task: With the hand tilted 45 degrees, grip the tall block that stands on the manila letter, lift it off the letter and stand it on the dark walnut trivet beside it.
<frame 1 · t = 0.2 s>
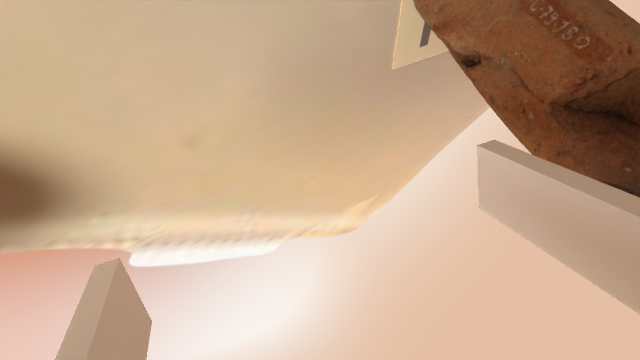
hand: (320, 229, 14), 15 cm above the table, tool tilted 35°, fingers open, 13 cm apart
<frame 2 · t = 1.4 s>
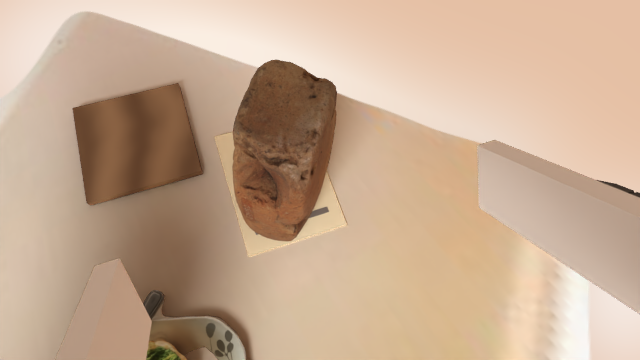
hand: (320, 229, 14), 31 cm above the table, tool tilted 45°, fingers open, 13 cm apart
trivet: (138, 142, 49), on the table
block: (285, 201, 47), resting on letter
letter: (278, 179, 48), on the table
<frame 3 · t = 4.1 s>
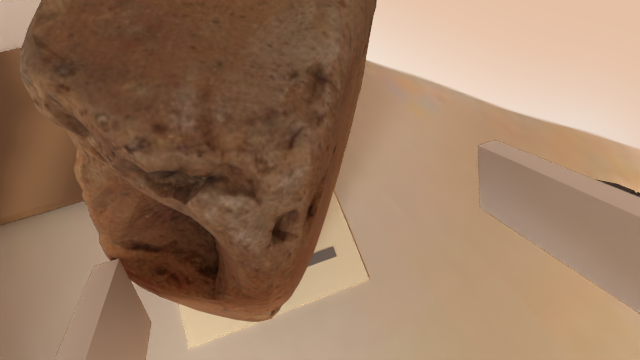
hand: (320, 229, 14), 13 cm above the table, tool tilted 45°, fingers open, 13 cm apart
block: (259, 239, 27), resting on letter, touching gripper
letter: (246, 199, 27), on the table
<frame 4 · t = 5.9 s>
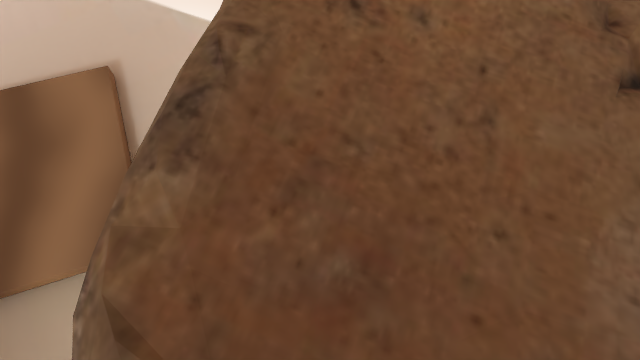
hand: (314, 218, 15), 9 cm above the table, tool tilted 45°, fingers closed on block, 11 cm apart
trivet: (20, 185, 24), on the table
block: (321, 313, 22), resting on letter, touching gripper
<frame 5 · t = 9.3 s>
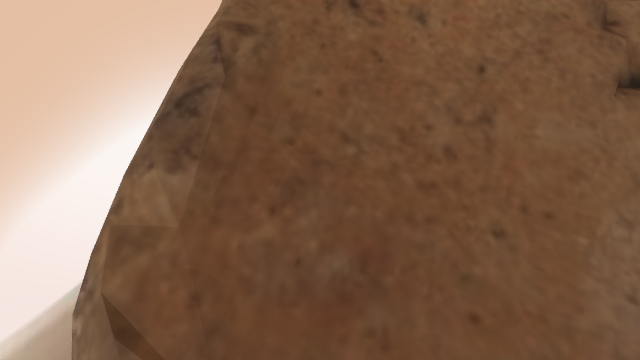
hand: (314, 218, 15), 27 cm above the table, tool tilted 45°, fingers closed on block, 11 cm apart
block: (321, 313, 22), point 18 cm above the table, touching gripper
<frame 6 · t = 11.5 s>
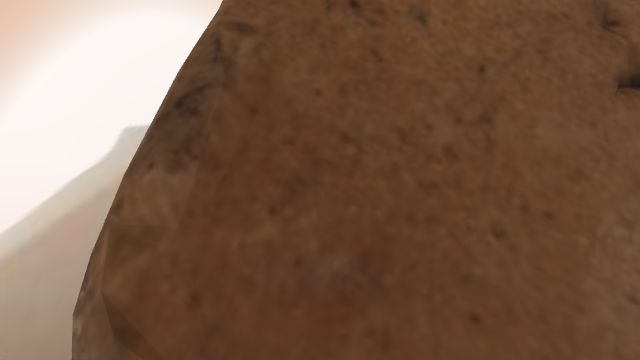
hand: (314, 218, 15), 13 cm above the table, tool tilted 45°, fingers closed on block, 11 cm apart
block: (321, 313, 22), point 4 cm above the table, touching gripper
when the fingers open (11 cm above the table, at t = 12.7 s): block drops 1 cm, resting on trivet.
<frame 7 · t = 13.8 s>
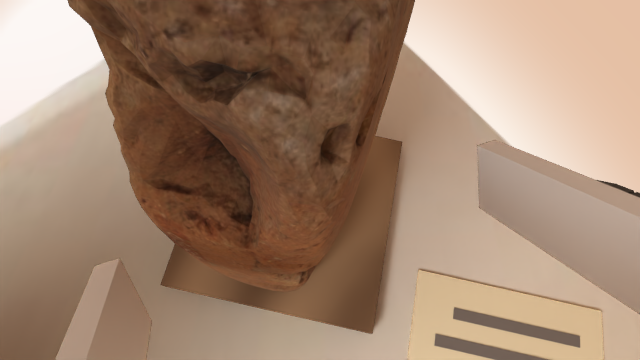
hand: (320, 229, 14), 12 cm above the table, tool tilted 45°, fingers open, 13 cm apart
trivet: (291, 211, 27), on the table
block: (287, 211, 26), point 1 cm above the table, touching trivet
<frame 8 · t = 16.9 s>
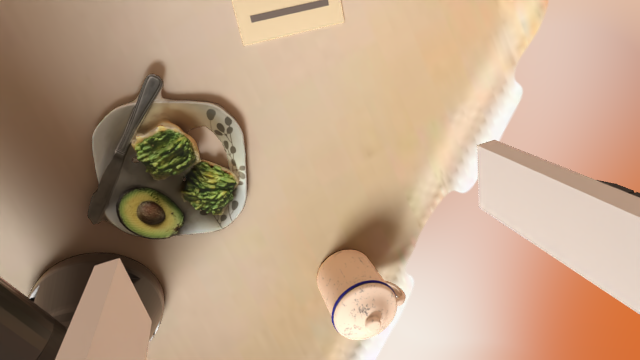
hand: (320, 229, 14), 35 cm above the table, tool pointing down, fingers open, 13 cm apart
salad plate: (172, 171, 47), on the table
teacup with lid: (351, 272, 60), on the table
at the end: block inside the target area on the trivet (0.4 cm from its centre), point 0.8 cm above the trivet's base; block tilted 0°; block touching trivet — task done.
